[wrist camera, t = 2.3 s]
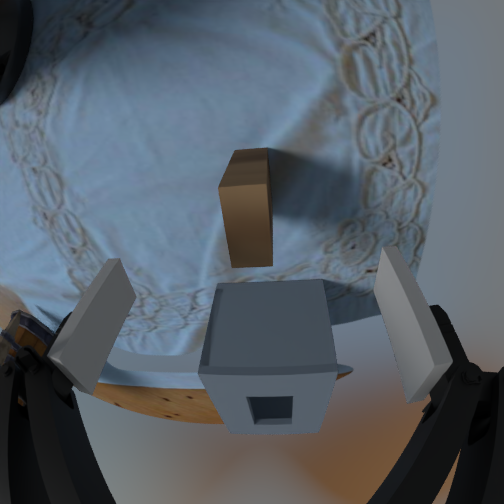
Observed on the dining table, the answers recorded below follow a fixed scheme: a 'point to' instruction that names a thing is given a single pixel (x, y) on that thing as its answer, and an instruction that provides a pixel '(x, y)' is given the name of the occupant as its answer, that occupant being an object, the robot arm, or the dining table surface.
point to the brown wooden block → (248, 208)
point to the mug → (23, 337)
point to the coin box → (270, 356)
